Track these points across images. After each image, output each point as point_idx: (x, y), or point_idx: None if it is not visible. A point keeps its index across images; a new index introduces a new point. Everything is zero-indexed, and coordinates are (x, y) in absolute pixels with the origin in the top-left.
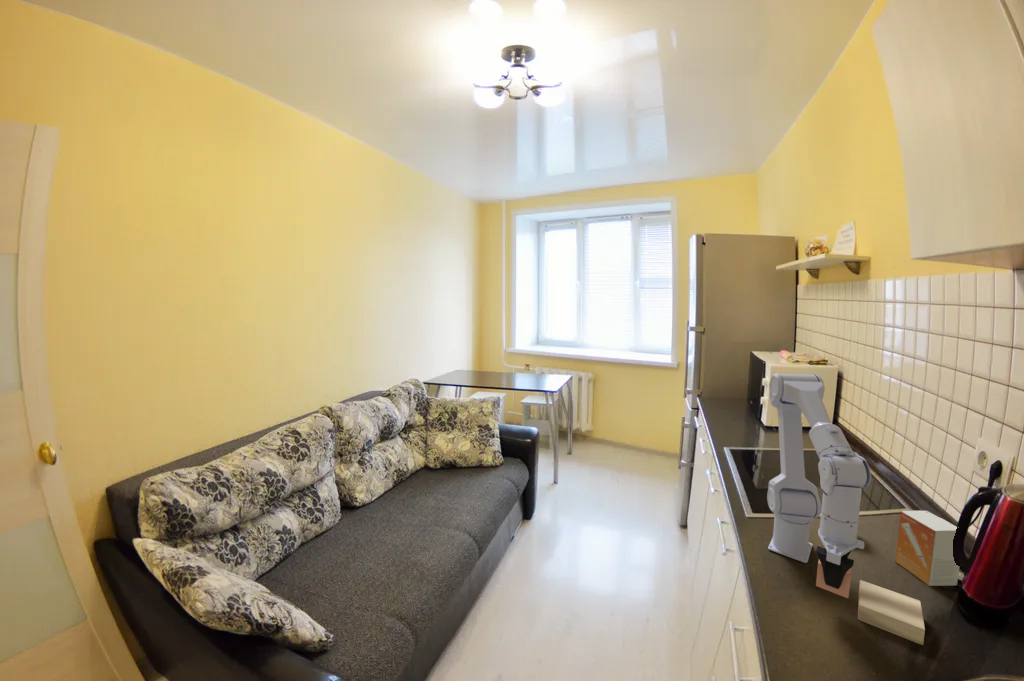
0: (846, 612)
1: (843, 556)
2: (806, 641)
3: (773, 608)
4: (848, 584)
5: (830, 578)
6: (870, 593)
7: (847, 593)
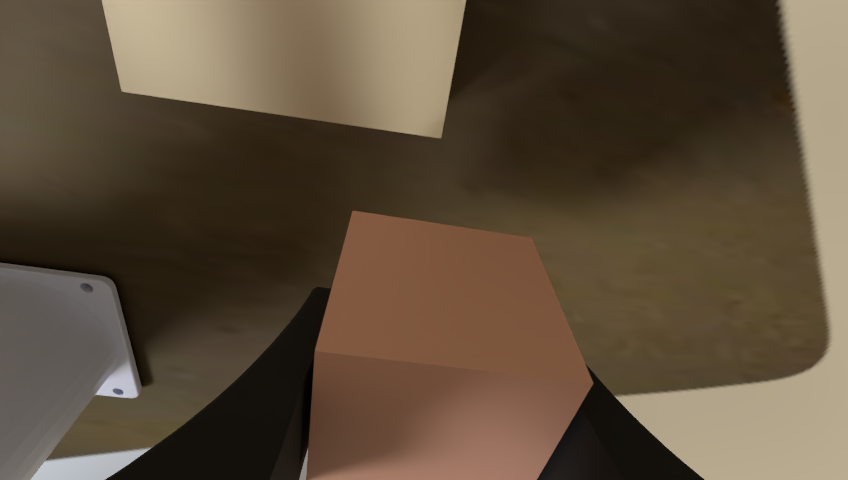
0: (409, 152)
1: (298, 419)
2: (675, 297)
3: None
4: (560, 312)
5: None
6: (255, 49)
7: (536, 262)
